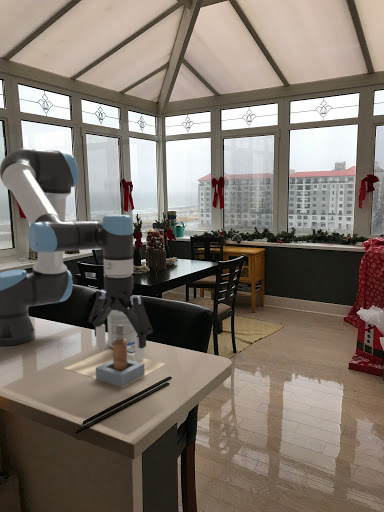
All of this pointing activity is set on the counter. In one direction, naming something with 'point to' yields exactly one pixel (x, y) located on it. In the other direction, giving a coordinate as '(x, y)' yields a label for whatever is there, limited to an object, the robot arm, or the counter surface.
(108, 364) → the socket
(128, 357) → the block
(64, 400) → the counter surface
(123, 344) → the awl
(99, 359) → the plywood panel
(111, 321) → the supplement tub
